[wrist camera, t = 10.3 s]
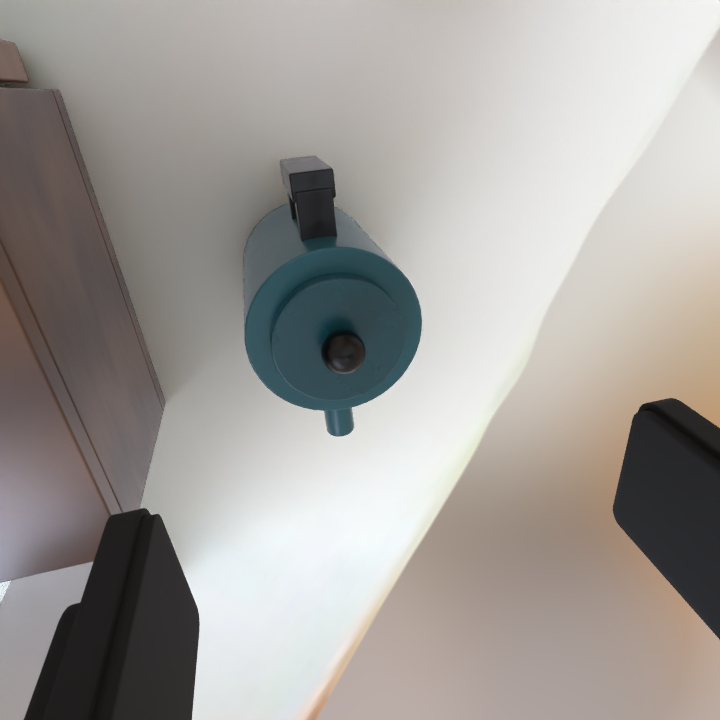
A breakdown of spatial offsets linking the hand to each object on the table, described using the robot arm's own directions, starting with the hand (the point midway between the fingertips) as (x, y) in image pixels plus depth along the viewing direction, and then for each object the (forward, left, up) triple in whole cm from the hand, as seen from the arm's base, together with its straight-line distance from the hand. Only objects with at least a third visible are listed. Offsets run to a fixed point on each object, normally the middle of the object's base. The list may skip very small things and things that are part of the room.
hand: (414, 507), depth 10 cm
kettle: (0, 0, -16) cm, 16 cm away
